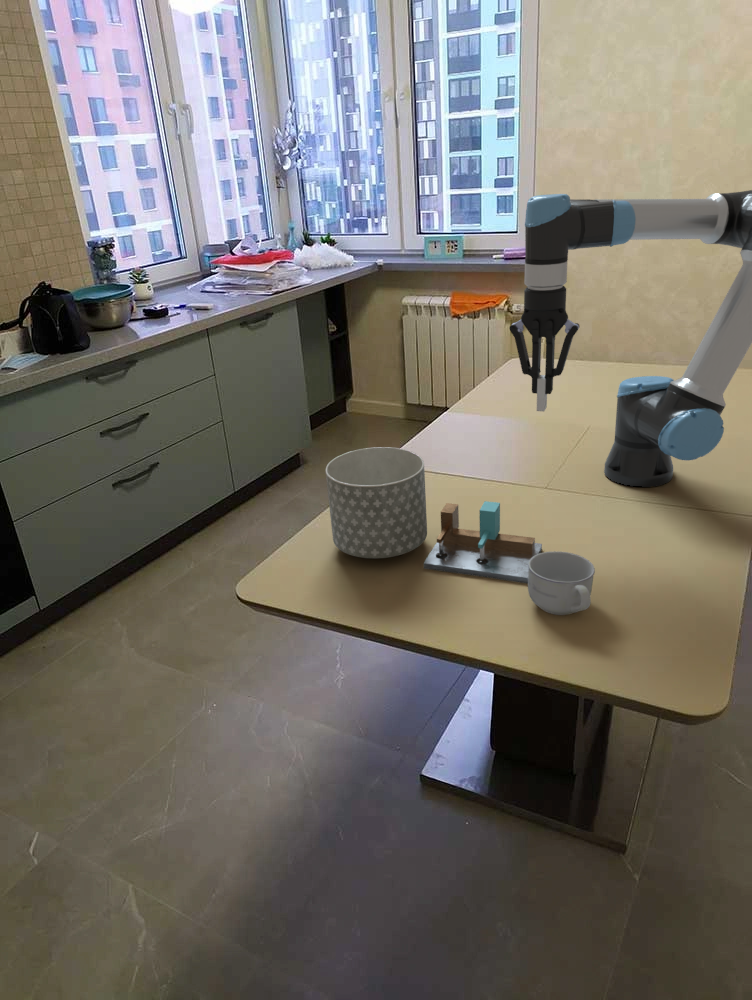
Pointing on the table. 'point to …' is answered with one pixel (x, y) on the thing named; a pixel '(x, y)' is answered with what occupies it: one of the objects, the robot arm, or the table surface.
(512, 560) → the gauge board
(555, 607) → the teacup
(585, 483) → the table surface
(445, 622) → the table surface
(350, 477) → the planter
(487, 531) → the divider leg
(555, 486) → the table surface
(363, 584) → the table surface
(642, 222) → the robot arm
